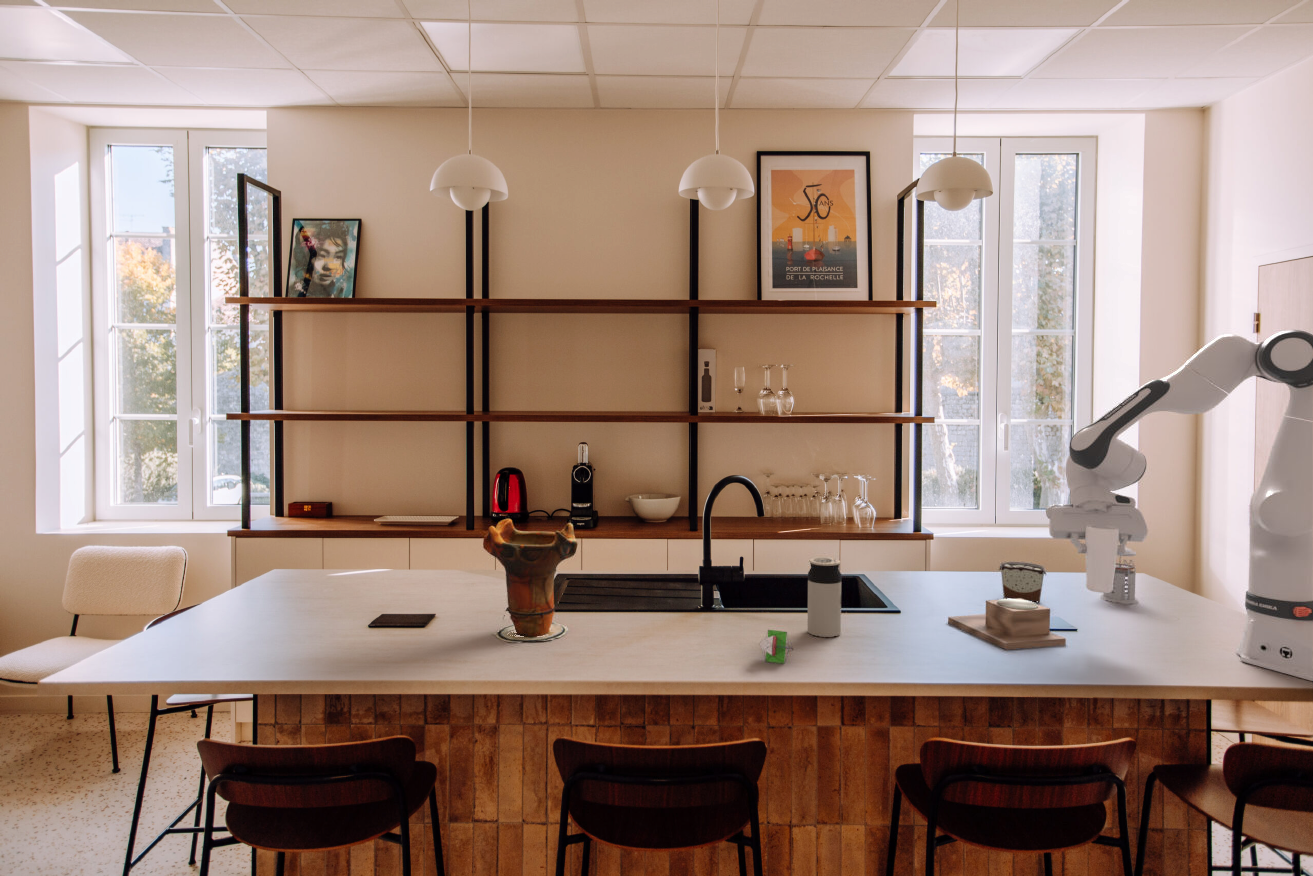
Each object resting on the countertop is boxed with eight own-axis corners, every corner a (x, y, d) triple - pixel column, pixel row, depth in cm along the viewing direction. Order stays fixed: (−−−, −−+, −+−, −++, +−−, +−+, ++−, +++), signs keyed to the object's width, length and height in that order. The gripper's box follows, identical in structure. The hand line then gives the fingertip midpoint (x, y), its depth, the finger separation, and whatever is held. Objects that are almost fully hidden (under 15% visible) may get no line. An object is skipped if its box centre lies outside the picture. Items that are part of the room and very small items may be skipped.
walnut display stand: (1065, 644, 175) (1066, 611, 175) (1006, 649, 172) (1006, 616, 171) (1002, 618, 197) (1002, 589, 196) (948, 622, 193) (948, 592, 193)
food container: (1047, 598, 217) (1048, 564, 217) (1045, 603, 212) (1046, 568, 212) (1001, 593, 224) (1002, 559, 223) (998, 597, 219) (998, 563, 218)
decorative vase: (581, 642, 176) (574, 523, 174) (481, 650, 174) (474, 530, 173) (583, 618, 196) (577, 511, 195) (494, 624, 195) (488, 517, 194)
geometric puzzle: (766, 642, 171) (761, 620, 166) (796, 645, 168) (792, 623, 163) (760, 669, 166) (754, 647, 161) (791, 673, 163) (786, 651, 158)
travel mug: (805, 636, 182) (805, 562, 181) (810, 627, 190) (810, 556, 189) (838, 639, 179) (839, 565, 179) (842, 630, 187) (843, 558, 186)
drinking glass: (1121, 595, 172) (1124, 530, 171) (1088, 593, 173) (1091, 528, 172) (1109, 588, 178) (1112, 525, 178) (1078, 586, 180) (1081, 523, 179)
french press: (1128, 595, 221) (1130, 510, 220) (1149, 605, 210) (1152, 516, 209) (1092, 594, 222) (1095, 510, 221) (1112, 604, 211) (1115, 516, 210)
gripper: (1046, 496, 184) (1053, 543, 176) (1142, 498, 178) (1155, 547, 169) (1043, 512, 189) (1050, 558, 180) (1136, 514, 183) (1148, 562, 174)
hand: (1101, 552), depth 175 cm, fingers closed on drinking glass, 7 cm apart
